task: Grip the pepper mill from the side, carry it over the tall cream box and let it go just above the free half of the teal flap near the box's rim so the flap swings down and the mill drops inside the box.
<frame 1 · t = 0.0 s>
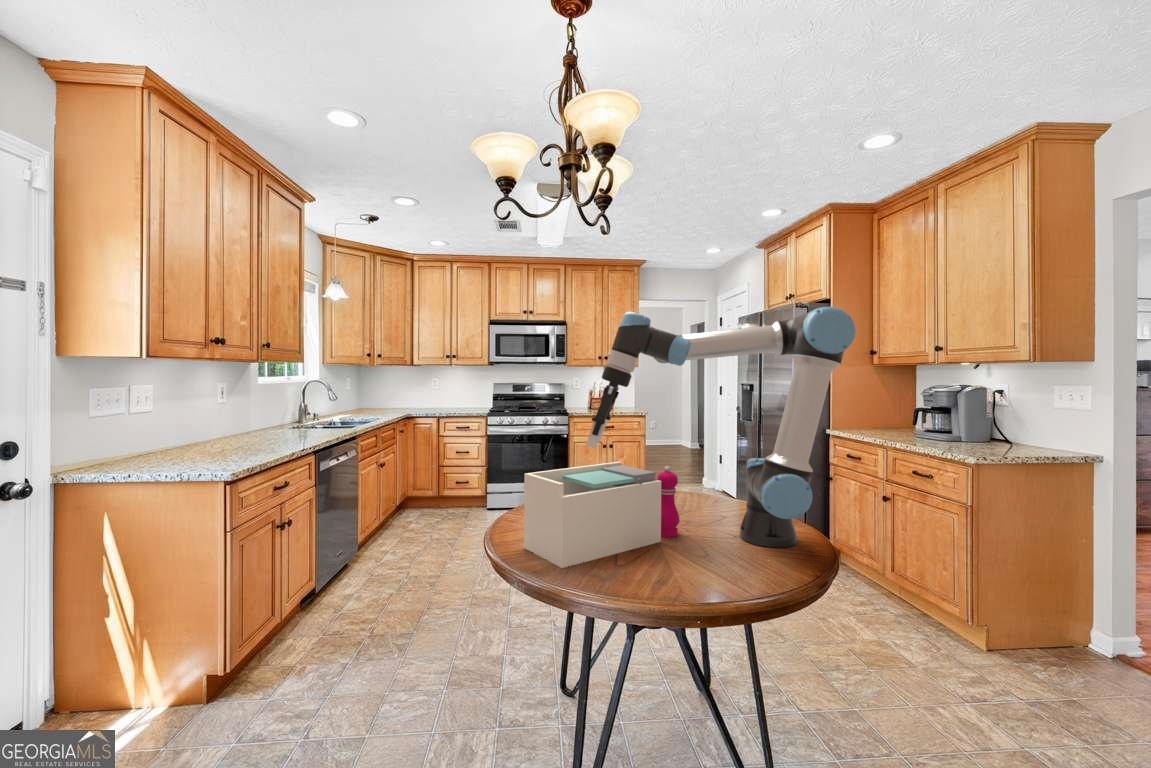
hand: (593, 443, 137), 28 cm above the table, tool tilted 20°, fingers open, 13 cm apart
pepper mill: (666, 534, 149), on the table
trapdoor: (609, 480, 142), point 17 cm above the table, hinge at 0.0°
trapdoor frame: (616, 539, 144), on the table
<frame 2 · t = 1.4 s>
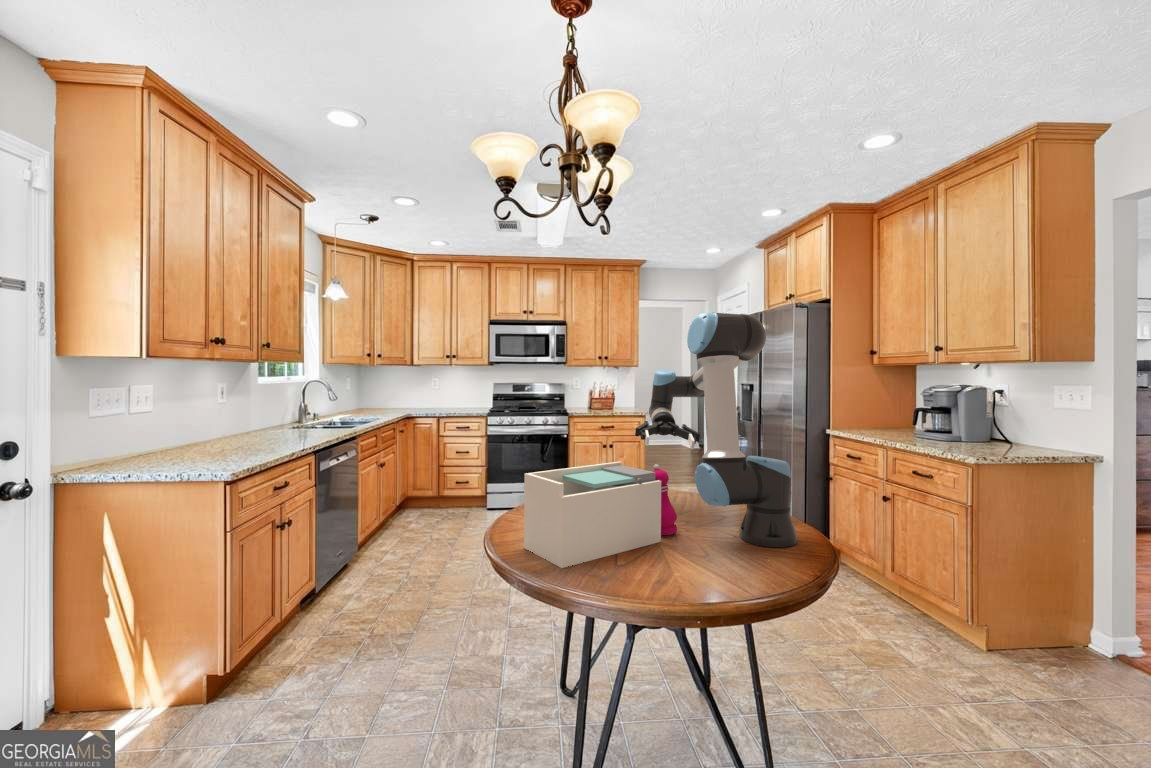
hand: (670, 443, 153), 26 cm above the table, tool horizontal, fingers open, 13 cm apart
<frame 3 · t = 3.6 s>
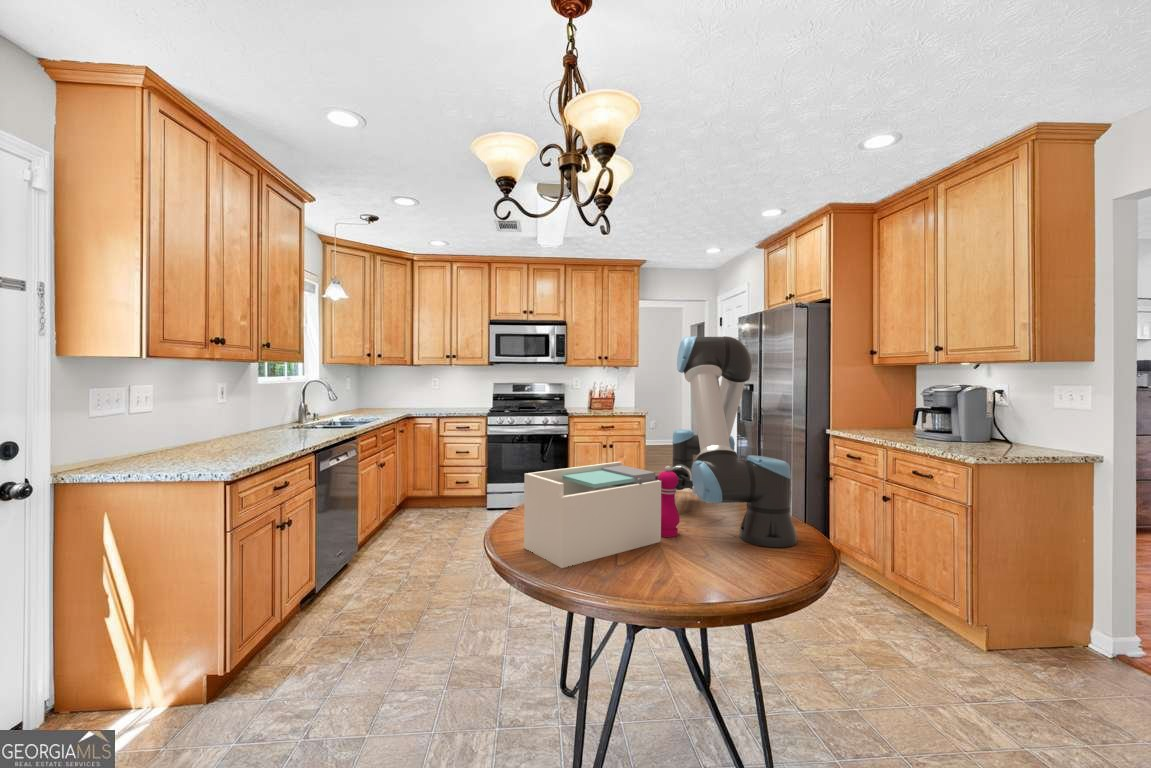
hand: (671, 490, 157), 11 cm above the table, tool horizontal, fingers open, 13 cm apart
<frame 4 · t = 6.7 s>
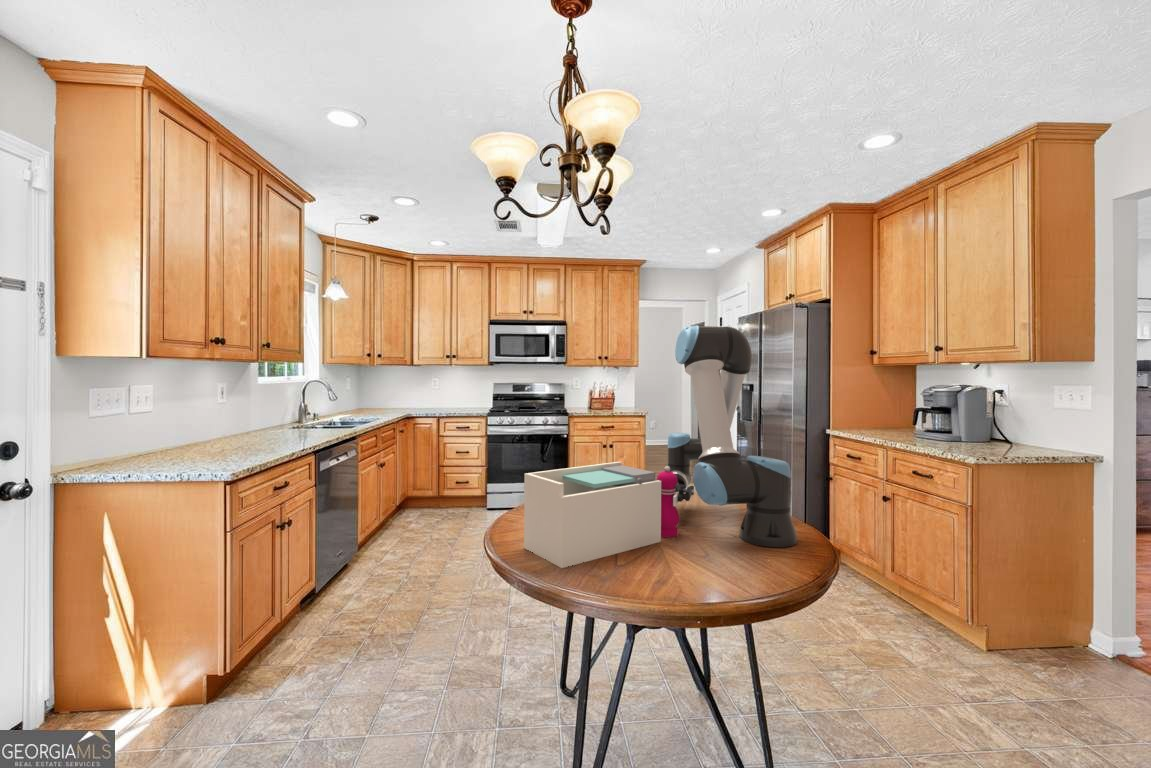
hand: (664, 500, 144), 11 cm above the table, tool horizontal, fingers closed on pepper mill, 5 cm apart
pepper mill: (666, 534, 149), on the table, touching gripper
everything else where it was.
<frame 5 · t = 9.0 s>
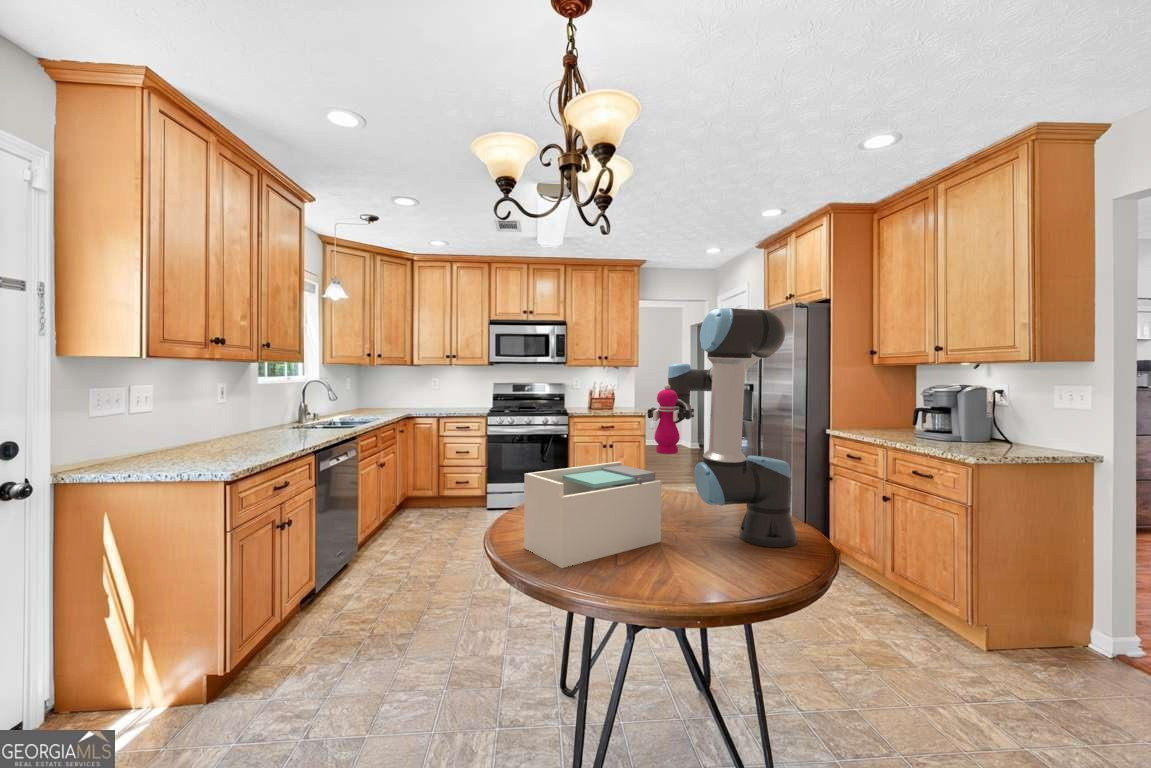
hand: (664, 416, 143), 35 cm above the table, tool horizontal, fingers closed on pepper mill, 5 cm apart
pepper mill: (666, 453, 149), point 24 cm above the table, touching gripper
everything else where it was.
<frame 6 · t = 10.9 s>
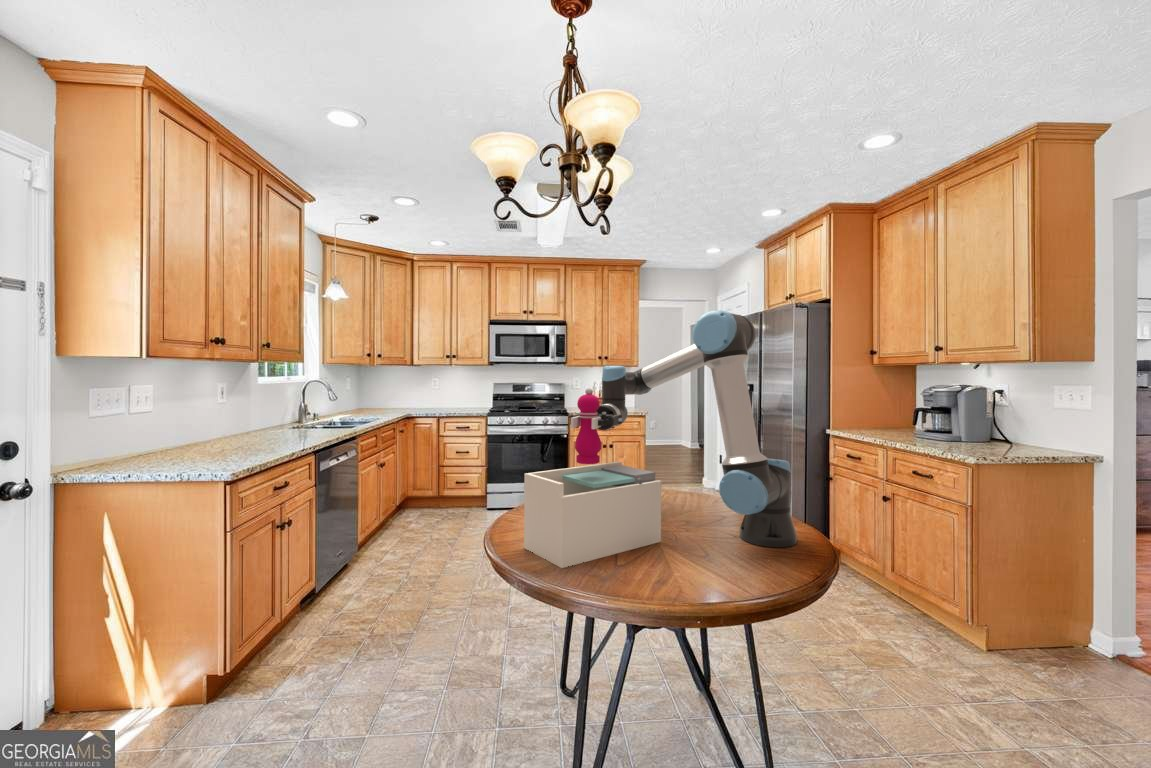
hand: (582, 423, 132), 34 cm above the table, tool horizontal, fingers closed on pepper mill, 5 cm apart
pepper mill: (588, 462, 137), point 23 cm above the table, touching gripper
everything else where it was.
when the fingers open (32 cm above the table, at t = 11.3 s): pepper mill drops 16 cm, resting on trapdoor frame.
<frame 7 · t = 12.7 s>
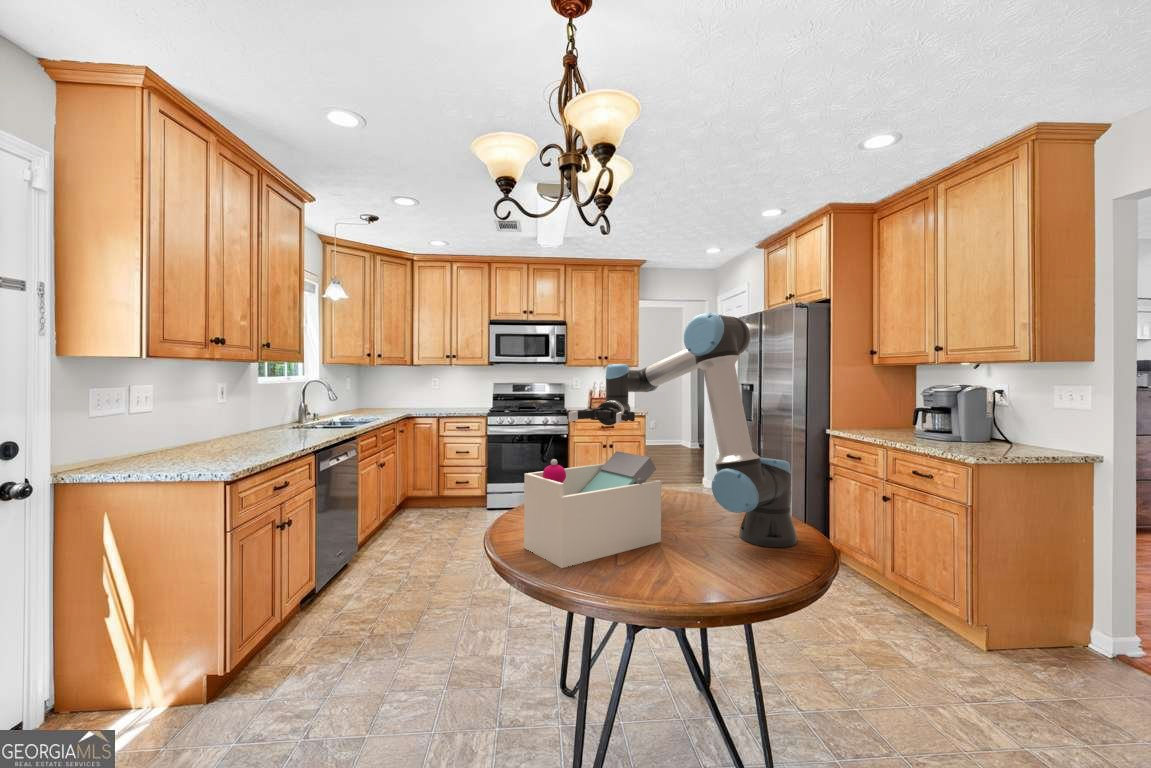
hand: (593, 417, 140), 35 cm above the table, tool horizontal, fingers open, 13 cm apart
pepper mill: (556, 535, 133), point 5 cm above the table, touching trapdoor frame
trapdoor: (612, 485, 142), point 15 cm above the table, hinge at -35.6°
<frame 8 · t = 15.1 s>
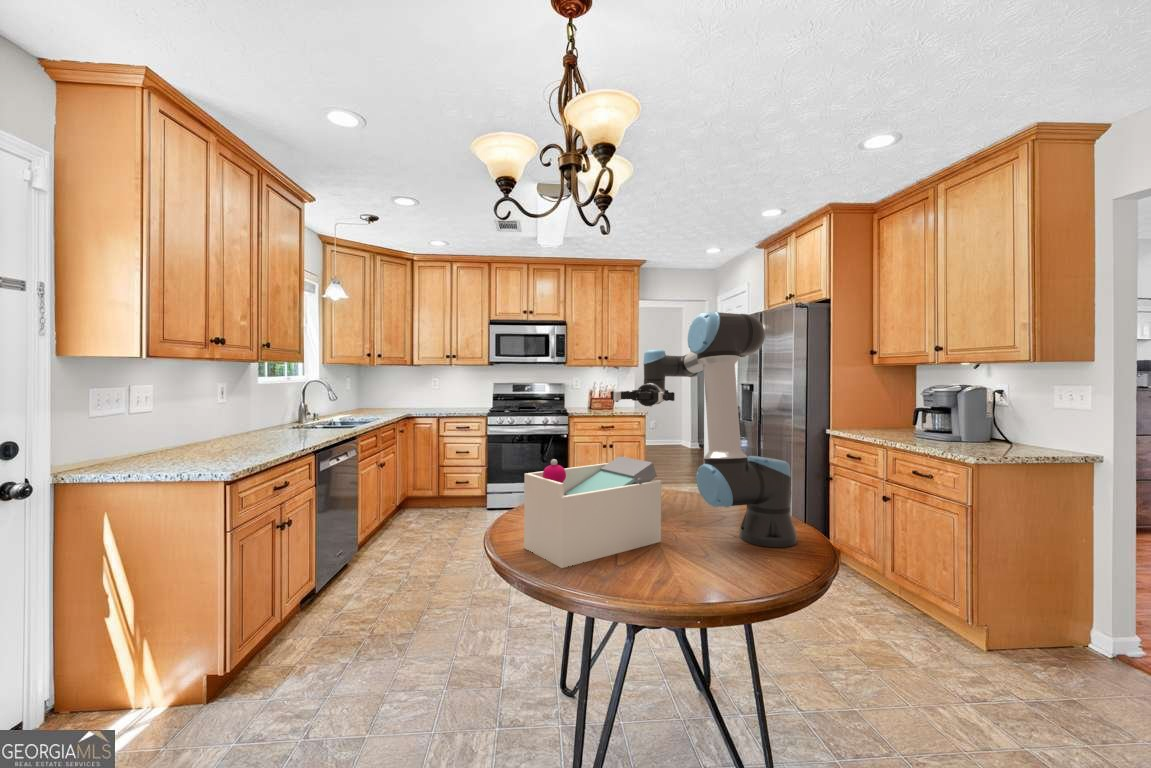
hand: (636, 396, 152), 40 cm above the table, tool horizontal, fingers open, 13 cm apart
trapdoor: (610, 483, 142), point 16 cm above the table, hinge at -21.6°
everything else where it was.
at the end: pepper mill inside the target area (7.2 cm from its centre), point 4.5 cm above the table; pepper mill moved 35.9 cm from its start; the gripper is holding nothing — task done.
